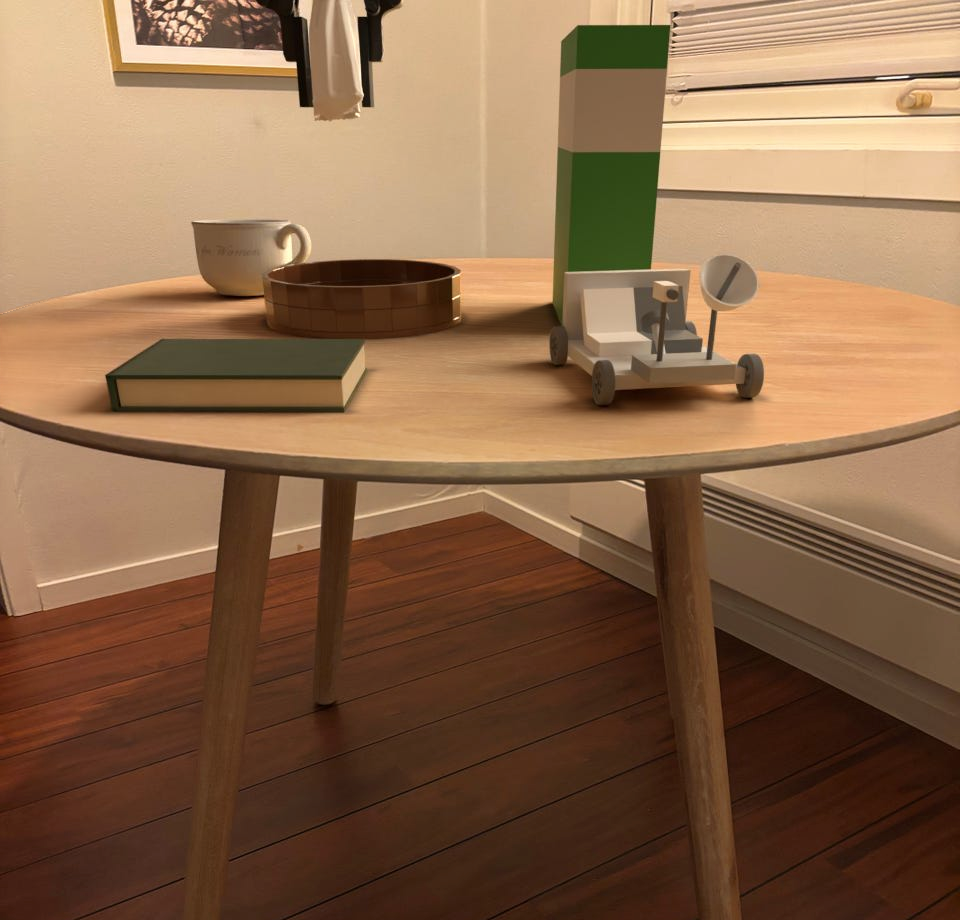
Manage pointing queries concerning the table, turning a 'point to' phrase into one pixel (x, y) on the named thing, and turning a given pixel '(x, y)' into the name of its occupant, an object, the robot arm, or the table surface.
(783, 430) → the table surface
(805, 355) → the table surface
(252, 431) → the table surface
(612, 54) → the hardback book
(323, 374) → the green book
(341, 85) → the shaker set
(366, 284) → the bowl
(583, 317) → the toy car
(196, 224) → the teacup
